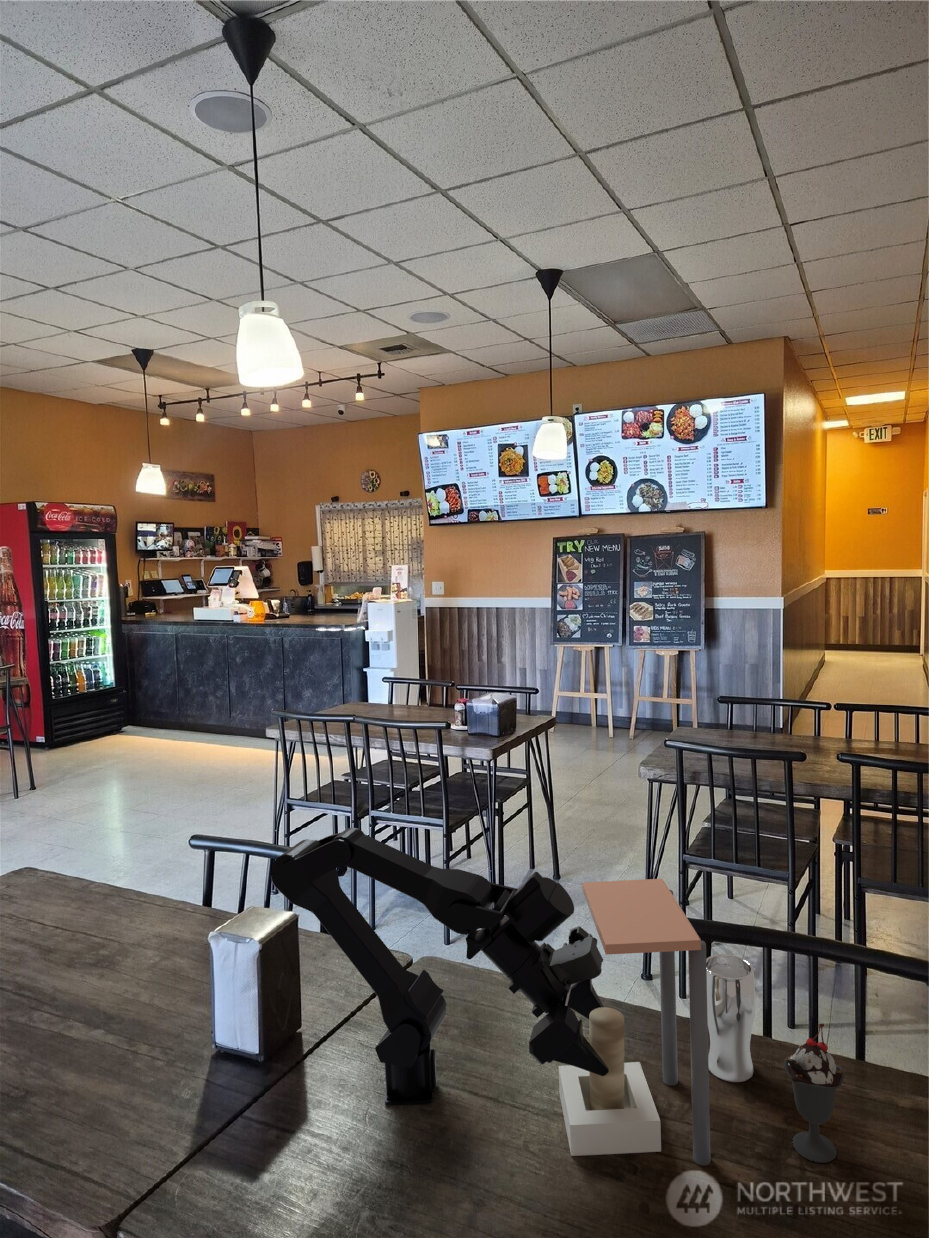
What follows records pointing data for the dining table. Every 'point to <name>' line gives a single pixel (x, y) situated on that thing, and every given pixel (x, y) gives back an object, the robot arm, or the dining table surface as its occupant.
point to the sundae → (814, 1096)
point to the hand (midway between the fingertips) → (609, 1049)
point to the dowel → (607, 1058)
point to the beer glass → (730, 1016)
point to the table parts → (658, 924)
